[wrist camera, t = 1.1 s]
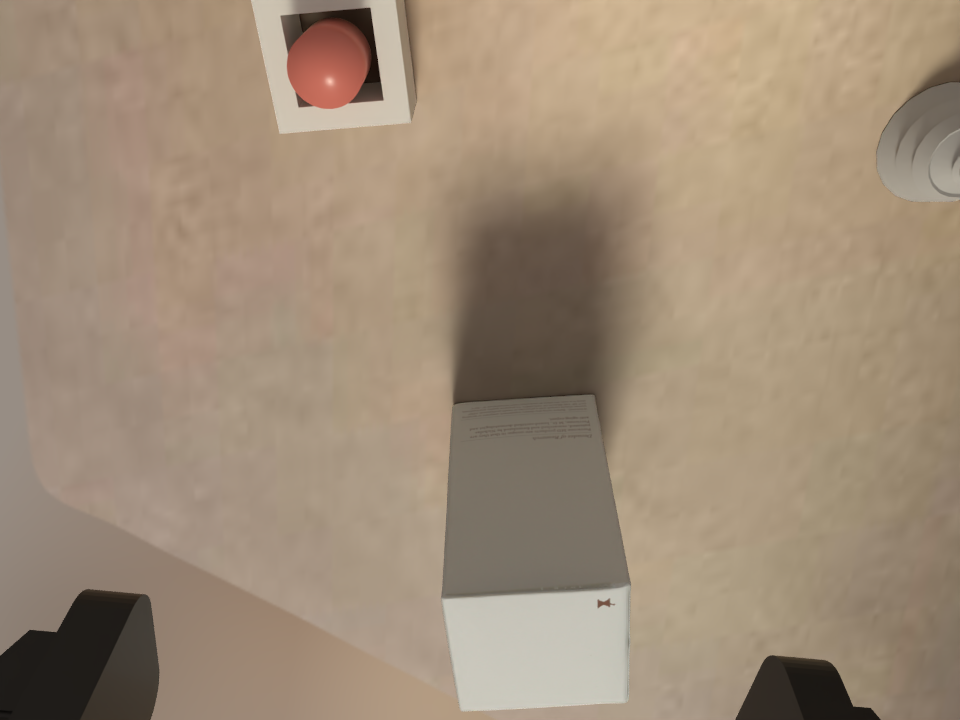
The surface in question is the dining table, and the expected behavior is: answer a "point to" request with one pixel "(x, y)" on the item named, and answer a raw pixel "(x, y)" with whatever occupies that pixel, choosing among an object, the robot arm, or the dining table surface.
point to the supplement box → (534, 558)
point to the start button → (329, 63)
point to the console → (375, 102)
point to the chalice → (923, 147)
